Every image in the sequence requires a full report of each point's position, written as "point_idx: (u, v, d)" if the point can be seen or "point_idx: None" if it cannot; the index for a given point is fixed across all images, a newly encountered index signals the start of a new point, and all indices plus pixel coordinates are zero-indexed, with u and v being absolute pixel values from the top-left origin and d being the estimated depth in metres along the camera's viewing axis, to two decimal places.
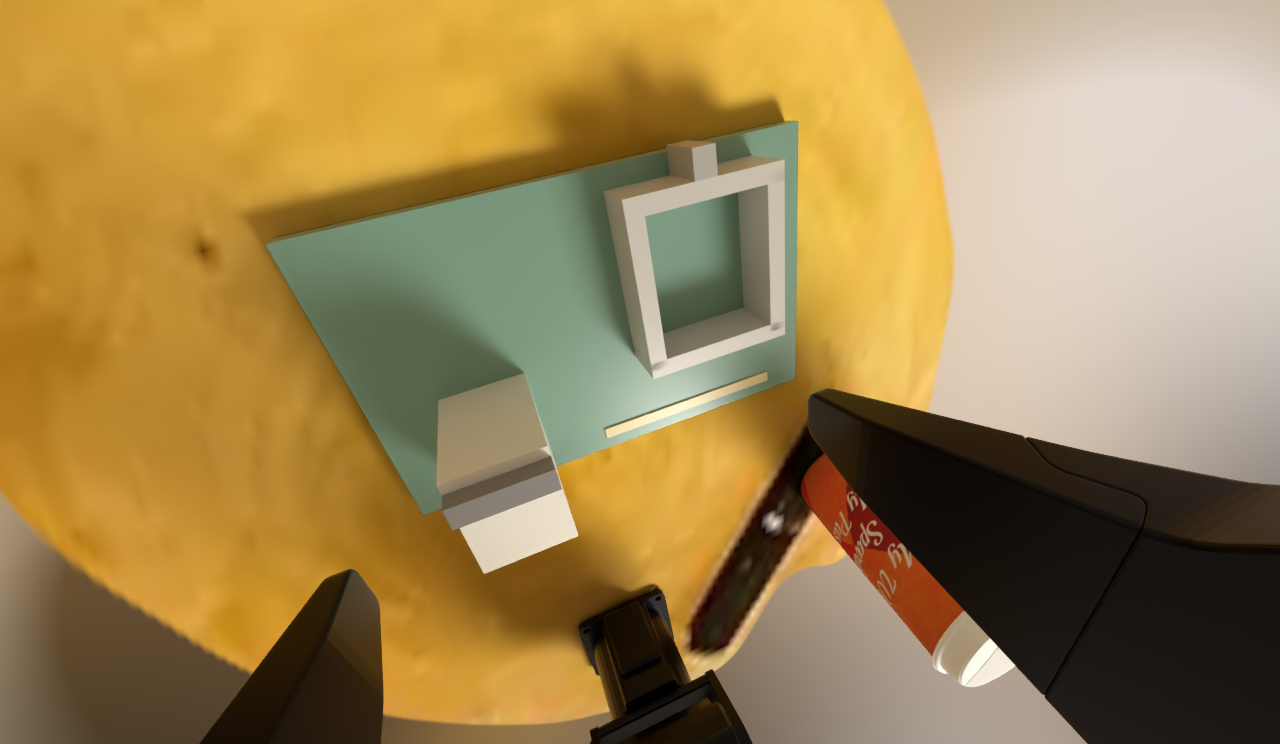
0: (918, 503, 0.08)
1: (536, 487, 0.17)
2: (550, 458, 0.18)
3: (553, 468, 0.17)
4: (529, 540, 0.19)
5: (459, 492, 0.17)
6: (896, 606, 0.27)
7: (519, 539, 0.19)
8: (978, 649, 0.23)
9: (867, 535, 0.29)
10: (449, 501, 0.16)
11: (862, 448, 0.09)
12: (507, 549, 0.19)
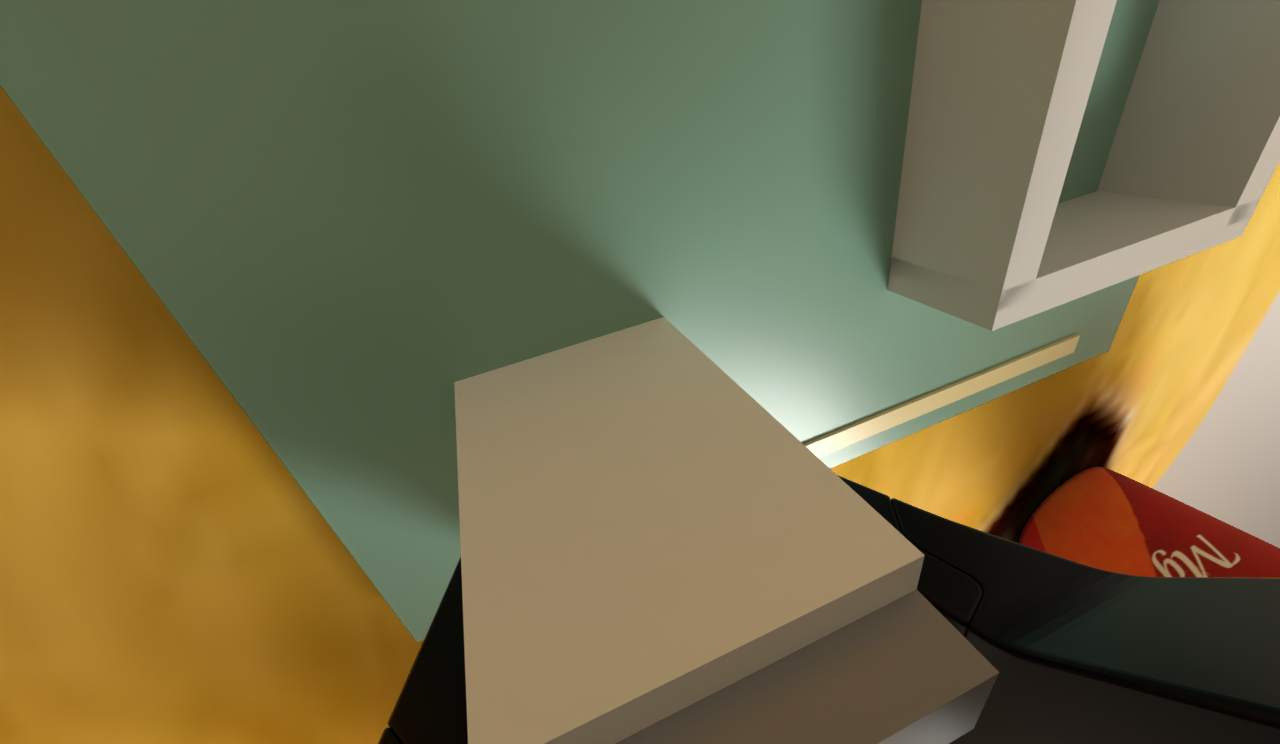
0: None
1: None
2: (921, 601, 0.04)
3: (984, 664, 0.04)
4: None
5: None
6: None
7: None
8: None
9: None
10: None
11: None
12: None
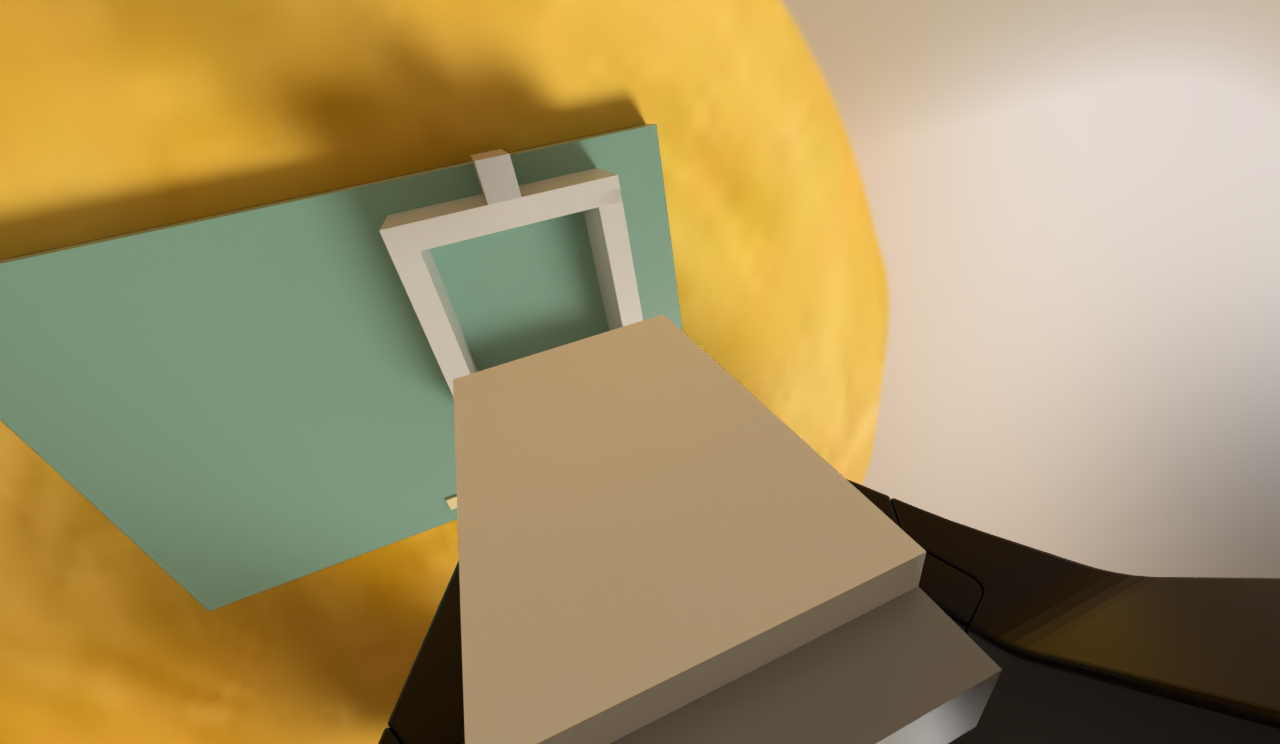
0: None
1: None
2: (923, 598, 0.04)
3: (987, 661, 0.04)
4: None
5: None
6: None
7: None
8: None
9: None
10: None
11: None
12: None
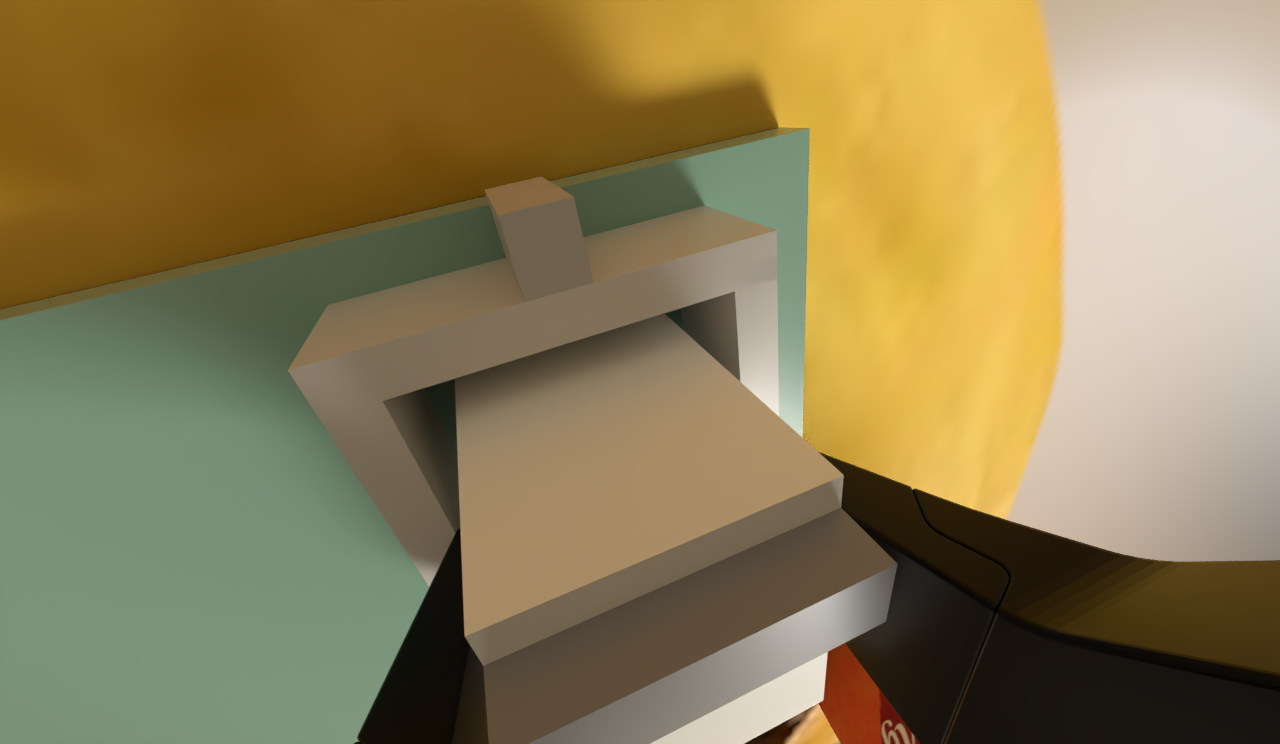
0: None
1: (823, 628, 0.05)
2: (843, 516, 0.05)
3: (886, 558, 0.05)
4: (715, 733, 0.07)
5: (551, 656, 0.04)
6: None
7: (691, 736, 0.07)
8: None
9: None
10: (517, 702, 0.04)
11: None
12: None
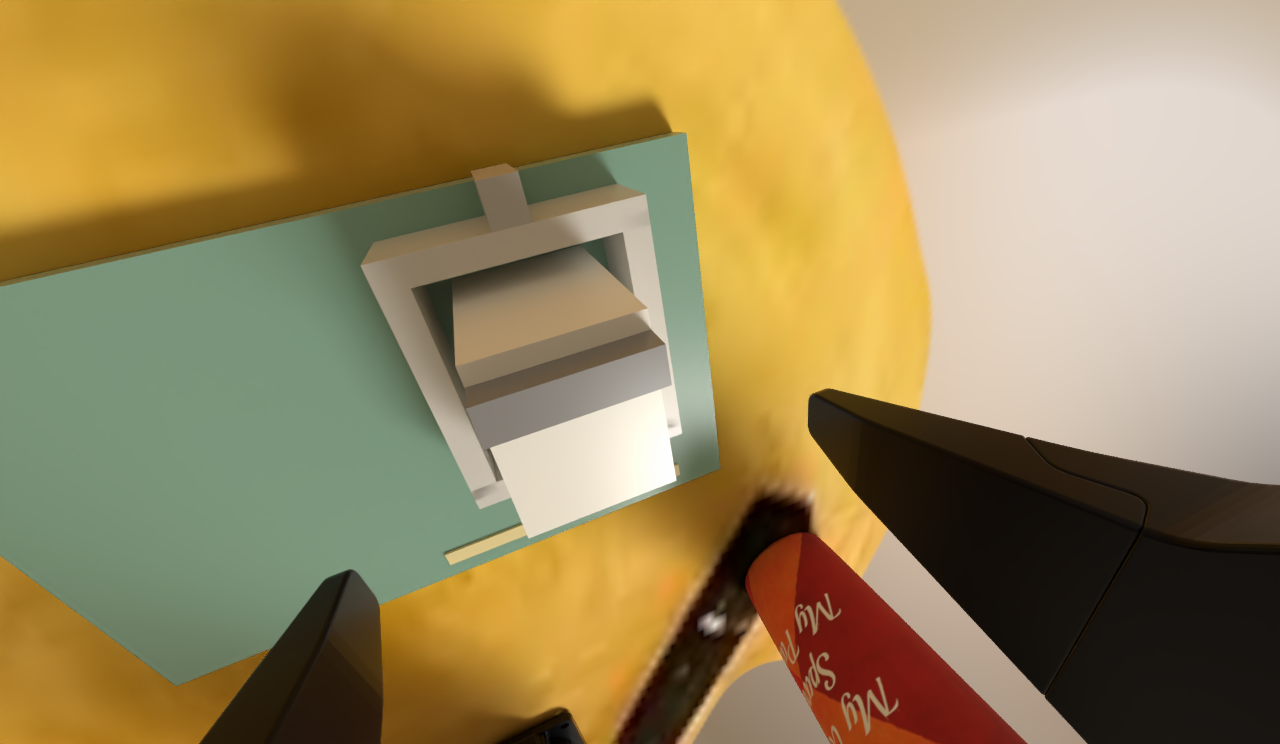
0: (918, 503, 0.08)
1: (631, 377, 0.10)
2: (651, 332, 0.10)
3: (662, 343, 0.10)
4: (603, 483, 0.12)
5: (496, 381, 0.09)
6: None
7: (587, 481, 0.11)
8: None
9: (817, 672, 0.22)
10: (479, 394, 0.09)
11: (862, 448, 0.09)
12: (567, 497, 0.12)
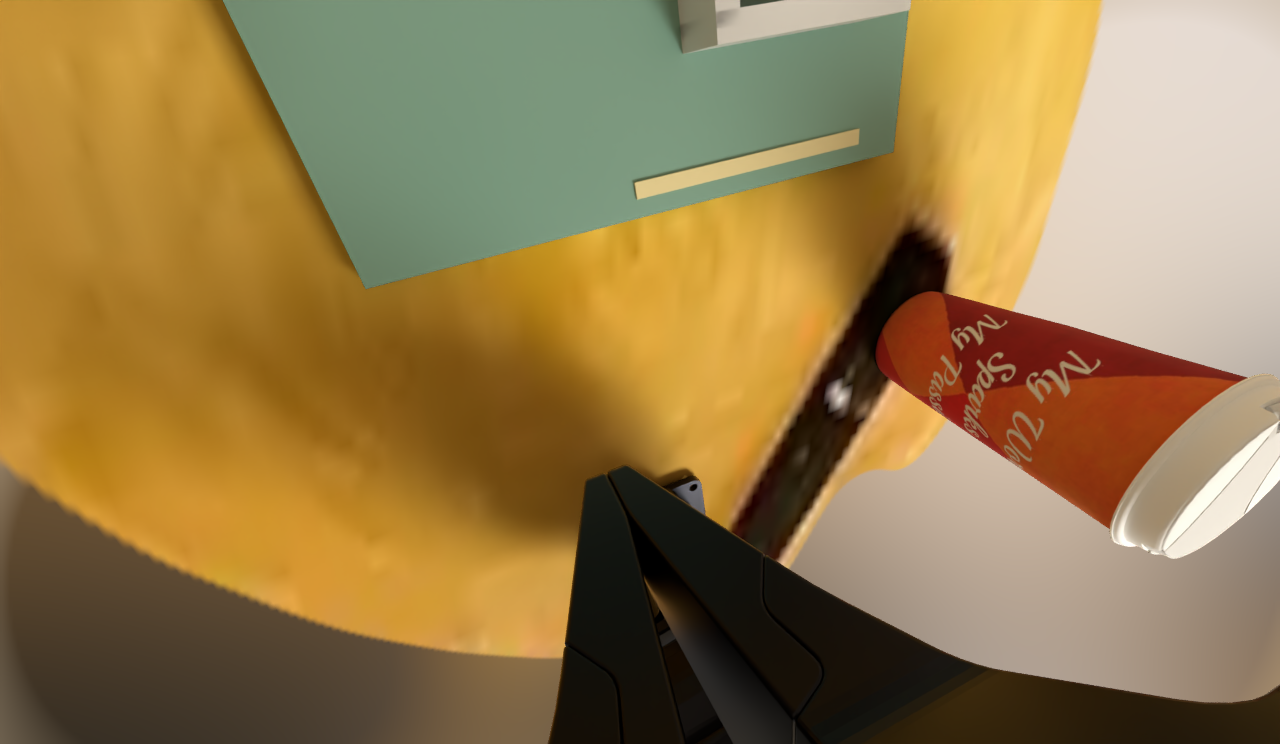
0: (677, 614, 0.07)
1: None
2: None
3: None
4: None
5: None
6: (1041, 457, 0.19)
7: None
8: (1209, 480, 0.15)
9: (989, 373, 0.21)
10: None
11: (637, 542, 0.08)
12: None
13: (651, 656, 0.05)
